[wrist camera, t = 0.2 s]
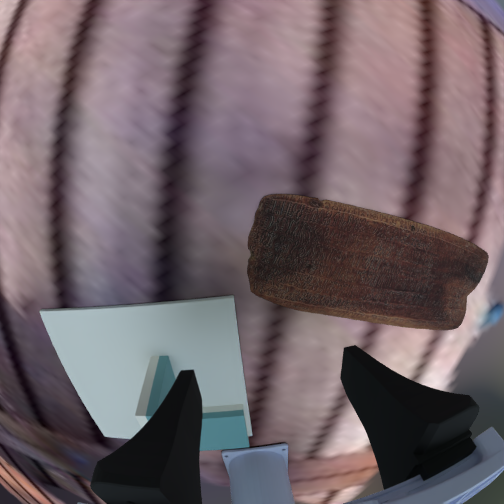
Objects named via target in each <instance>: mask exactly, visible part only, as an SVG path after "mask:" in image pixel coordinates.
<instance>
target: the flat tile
mask: <svg viewBox="0 0 504 504" xmlns="http://www.w3.org/2000/svg"><path fill="white" fill-rule="evenodd" d="M202 411H203V418H202V430H201V441H200V451H204V450H222V449H235V448H245V447H249V440H248V433H247V427H246V421H245V415H244V409H243V404H235V405H225V406H212V407H202Z"/></svg>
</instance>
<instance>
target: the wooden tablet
mask: <svg viewBox="0 0 504 504" xmlns="http://www.w3.org/2000/svg"><path fill="white" fill-rule="evenodd" d="M248 249H249V250H250V253H251V256H250V258H249V260H248V267H247V274H248V277H249V282H250V290H251V292H252V293H254V294H255V295H257V296H259V297H262V298H264V299H266V300H268V301H271V302H273V303H275V304H279V305H281V306H284V307H287V308H291V309H294V310H298V311H305V312H310V313H317V314H324V315H330V316H336V317H342V318H349V319H354V320H361V321H368V322H372V323H380V324H386V325H392V326H400V327H408V328H417V329H432V330H452V329H456V328H458V327H459V326H460V325H461V323H462V321H463V319H464V316H465V313H466V303H467V296H468V295H469V294H470V293H471V292H472V291H473V290H474V289H475V288H476V286H477V285H478V283H479V282H480V280H481V278H482V276H483V274H484V272H485V269H486V266H487V263H488V254H487V252H485V251H484V250H482V249H481V248H479V247H478V246H476V245H475V244H473V243H471V242H468V241H466V240H464V239H462V238H460V237H457V236H455V235H453V234H450V233H447V232H445V231H442V230H439V229H436V228H433V227H430V226H428V225H424V224H420V223H416V222H413V221H410V220H406V219H403V218H399V217H396V216H392V215H388V214H384V213H380V212H376V211H373V210H368V209H364V208H360V207H356V206H352V205H347V204H342V203H338V202H334V201H329V200H323V201H320V200H319V199H318V198H311V197H305V196H299V195H290V194H273V195H268V196H265V197H264V198H263V199H262V200H261V201H260V205H259V208H258V210H257V212H256V214H255V221H254V224H253V227H252V229H251V231H250V234H249V237H248Z"/></svg>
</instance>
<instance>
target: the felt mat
mask: <svg viewBox="0 0 504 504" xmlns="http://www.w3.org/2000/svg"><path fill="white" fill-rule="evenodd" d="M39 312H40V314H41V317H42V319H43V322H44V324H45V327H46V329H47V332H48V334H49V336H50V339H51V341H52V343H53V345H54V348H55V350H56V352H57V354H58V356H59V358H60V360H61V362H62V364H63V366H64V368H65V370H66V372H67V374H68V376H69V378H70V380H71V382H72V384H73V385H74V387H75V389H76V391H77V393H78V394H79V396H80V398H81V400H82V401H83V403H84V405H85V406H86V408H87V410H88V411H89V413H90V414H91V416H92V418H93V419H94V421H95V422H96V424H97V425H98V427H99V428H100V430H101V431H102V433H103V434H104V436H105V437H115V438H126V439H131V438H132V437H133V436H134V435H135V434H136V433H137V432H138V431H139V430H140V429H141V426H140V424H139V423H138V421H137V419H136V417H135V413H136V409H137V405H138V401H139V397H140V394H141V390H142V386H143V382H144V379H145V375H146V372H147V368H148V365H149V361H150V358H151V356H169V359H170V363H171V366H172V369H173V372H174V375H175V378H177V376H178V374H179V372H180V371H181V370H193V369H194V372H195V376H196V379H197V383H198V386H199V390H200V393H201V397H202V407H212V406H225V405H235V404H243V409H244V415H245V421H246V427H247V433H248V436H252V429H251V422H250V415H249V409H248V402H247V395H246V388H245V380H244V373H243V366H242V358H241V351H240V343H239V335H238V328H237V320H236V312H235V303H234V295H230V296H221V297H211V298H201V299H191V300H180V301H169V302H157V303H145V304H132V305H117V306H101V307H84V308H63V309H41V310H40V311H39Z"/></svg>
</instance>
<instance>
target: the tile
mask: <svg viewBox="0 0 504 504" xmlns="http://www.w3.org/2000/svg"><path fill="white" fill-rule="evenodd" d="M175 380H176V378H175V375H174V372H173V369H172V366H171V363H170V359H169V356H151V358H150V361H149V365H148V368H147V372H146V375H145V379H144V382H143V386H142V390H141V394H140V397H139V401H138V405H137V409H136V413H135V417H136V419H137V421H138V423H139V424H140V426H141V428H142V427H143V426H144V425H145V424H146V423H147V422H148V421H149V419H150V418H151V417H152V416H153V414H154V413H155V412H156V410H157V409H158V408H159V406H160V405H161V403H162V402H163V400H164V399H165V397H166V395H167V394H168V392H169V391H170V389H171V387H172V385H173V384H174V382H175Z"/></svg>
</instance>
